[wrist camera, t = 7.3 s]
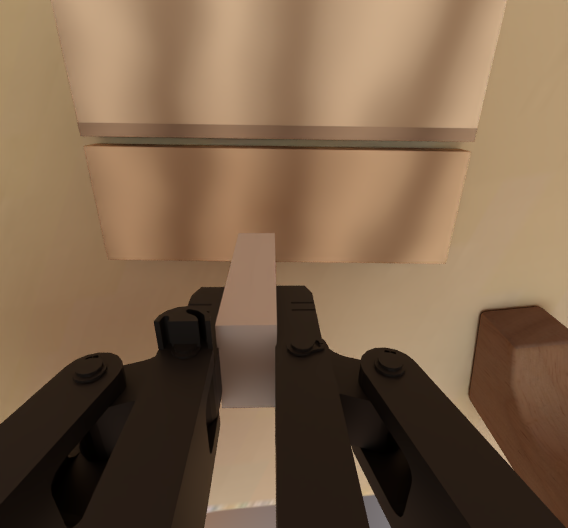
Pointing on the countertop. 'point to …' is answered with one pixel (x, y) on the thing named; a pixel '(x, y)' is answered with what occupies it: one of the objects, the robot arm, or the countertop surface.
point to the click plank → (277, 201)
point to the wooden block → (526, 397)
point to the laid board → (279, 67)
